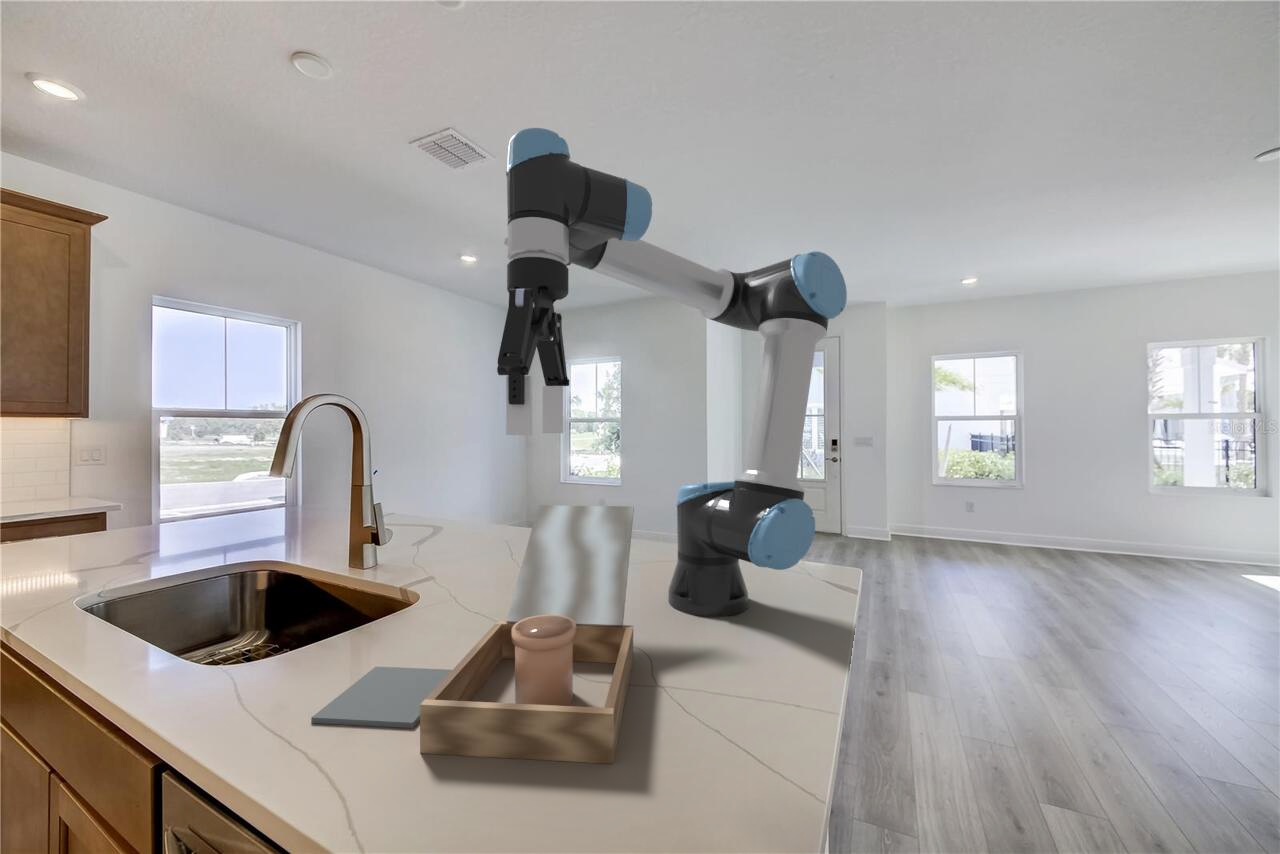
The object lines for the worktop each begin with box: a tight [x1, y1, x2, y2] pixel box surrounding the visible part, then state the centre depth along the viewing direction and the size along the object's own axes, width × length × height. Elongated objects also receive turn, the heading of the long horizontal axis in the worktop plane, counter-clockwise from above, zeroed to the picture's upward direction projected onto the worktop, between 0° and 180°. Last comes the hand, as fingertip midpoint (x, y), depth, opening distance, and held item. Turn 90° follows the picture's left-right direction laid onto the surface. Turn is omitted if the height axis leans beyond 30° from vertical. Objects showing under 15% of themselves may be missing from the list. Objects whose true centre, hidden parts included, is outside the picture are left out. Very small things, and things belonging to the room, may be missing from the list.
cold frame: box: [419, 504, 635, 765], centre depth 70 cm, size 20×39×20 cm, turn 175°
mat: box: [310, 666, 453, 729], centre depth 62 cm, size 12×12×1 cm
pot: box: [512, 615, 576, 706], centre depth 62 cm, size 8×8×9 cm
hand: (537, 434), depth 62 cm, fingers open, 13 cm apart
